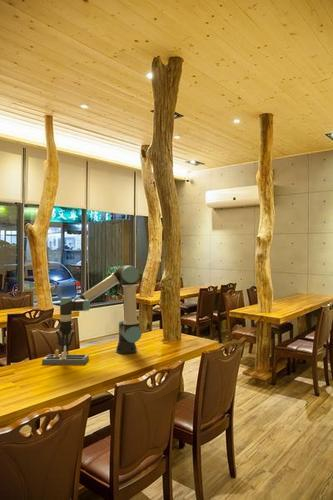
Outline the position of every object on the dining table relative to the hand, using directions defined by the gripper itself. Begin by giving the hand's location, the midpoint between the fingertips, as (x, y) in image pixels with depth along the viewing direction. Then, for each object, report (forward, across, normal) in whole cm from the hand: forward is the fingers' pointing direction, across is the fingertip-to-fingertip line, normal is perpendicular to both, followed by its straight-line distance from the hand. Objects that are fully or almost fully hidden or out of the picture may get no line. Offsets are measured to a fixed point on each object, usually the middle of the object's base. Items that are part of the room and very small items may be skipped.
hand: (65, 355), depth 237 cm
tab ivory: (+3, +2, 0) cm, 3 cm away
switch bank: (+5, 0, -3) cm, 5 cm away
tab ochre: (+3, +7, -6) cm, 10 cm away
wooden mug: (+5, +7, -21) cm, 23 cm away
